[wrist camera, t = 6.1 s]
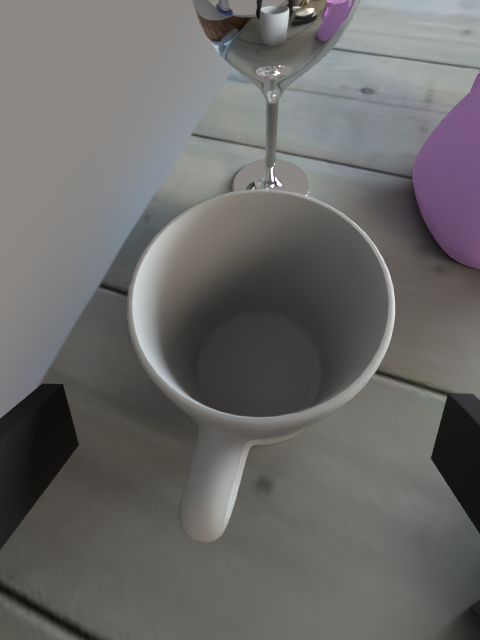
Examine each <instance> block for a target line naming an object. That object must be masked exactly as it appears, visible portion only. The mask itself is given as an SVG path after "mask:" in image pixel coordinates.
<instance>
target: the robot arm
mask: <svg viewBox="0 0 480 640" xmlns="http://www.w3.org/2000/svg"><path fill="white" fill-rule="evenodd" d="M78 445H79V443H78V440H77V436H76V432H75V428H74V424H73V421H72V417H71V413H70V409H69V405H68V402H67V398H66V394H65V390H64V386H63V384H41V385H40V386H39V387H38V388H37V389H35V390H34V391H33V392H32V393H31V394H29V395H28V396H27V397H26V398H25V399H24V400H22V401H21V402H20V403H19V404H17V405H16V406H15V407H14V408H13V409H11V410H10V411H9V412H8V413H7V414H5V415H4V416H3V417H2V418H1V419H0V549H1V548H2V547H3V545H4V544H5V543H6V541H7V540H8V539H9V537H10V536H11V535H12V533H13V532H14V531H15V529H16V528H17V527H18V525H19V524H20V523H21V521H22V520H23V519H24V517H25V516H26V515H27V513H28V512H29V511H30V509H31V508H32V507H33V505H34V504H35V503H36V501H37V500H38V499H39V497H40V496H41V495H42V493H43V492H44V491H45V489H46V488H47V487H48V485H49V484H50V483H51V481H52V480H53V479H54V477H55V476H56V475H57V473H58V472H59V471H60V469H61V468H62V467H63V465H64V464H65V463H66V461H67V460H68V459H69V457H70V456H71V455H72V453H73V452H74V451H75V449H76V448H77V447H78ZM431 459H432V461H433V463H434V464H435V466H436V467H437V469H438V470H439V472H440V473H441V475H442V476H443V478H444V479H445V481H446V483H447V484H448V486H449V487H450V489H451V490H452V492H453V493H454V495H455V496H456V498H457V499H458V501H459V503H460V504H461V506H462V507H463V509H464V510H465V512H466V513H467V515H468V516H469V518H470V519H471V521H472V523H473V524H474V526H475V527H476V529H477V530H478V532H479V533H480V400H479V399H478V398H477V397H476V396H475V395H474V394H457V393H448V396H447V400H446V404H445V407H444V411H443V415H442V419H441V422H440V426H439V430H438V434H437V437H436V441H435V445H434V449H433V452H432V456H431Z"/></svg>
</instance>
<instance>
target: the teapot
mask: <svg viewBox="0 0 480 640" xmlns="http://www.w3.org/2000/svg"><path fill="white" fill-rule="evenodd" d="M412 178H413V185H414V191H415V196H416V199H417V203H418V206H419V209H420V212H421V214H422V216H423V219H424V221H425V223H426V225H427V227H428V228H429V230H430V232H431V233H432V235H433V237H434V238H435V240H436V241H437V243H438V244H439V245H440V247H441V248H442V249H443V250H444V251H445V252H446V253H447V254H448V255H449V256H450V257H451V258H453V259H454V260H456V261H457V262H459V263H461V264H464V265H466V266H468V267H472V268H475V269H479V270H480V72H479V74H478V75H477V77H476V79H475V81H474V84H473V86H472V89H471V91H470V93H469V94H468V95H467V96H466V97H465V98H463V99H462V100H461V101H460V102H459V103H458V104H457V105H456V106H455V107H454V108H453V109H452V110H451V111H450V112H449V113H448V114H447V116H446V117H445V118H444V119H443V120H442V121H441V123H440V124H439V125H438V126H437V128H436V129H435V130H434V131H433V133H432V134H431V135H430V137H429V138H428V140H427V141H426V142H425V144H424V145H423V147H422V148H421V150H420V152H419V154H418V155H417V157H416V160H415V162H414V166H413V173H412Z"/></svg>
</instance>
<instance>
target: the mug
mask: <svg viewBox="0 0 480 640" xmlns="http://www.w3.org/2000/svg"><path fill="white" fill-rule="evenodd" d="M394 320H395V297H394V289H393V284H392V281H391V277H390V274H389V271H388V268H387V266H386V264H385V262H384V259H383V257H382V256H381V254H380V252H379V251H378V249H377V247H376V246H375V244H374V243H373V242H372V241H371V239H370V238H369V237H368V236H367V234H366V233H365V232H364V231H363V230H362V229H361V228H360V227H359V226H358V225H357V224H356V223H354V222H353V221H352V220H351V219H349V218H348V217H347V216H345V215H344V214H343V213H341V212H340V211H338V210H336V209H335V208H333V207H331V206H329V205H327V204H325V203H323V202H321V201H319V200H316V199H314V198H311V197H308V196H305V195H302V194H297V193H293V192H288V191H281V190H273V189H253V190H241V191H236V192H230V193H226V194H222V195H219V196H215V197H212V198H210V199H207V200H205V201H202V202H200V203H198V204H196V205H194V206H192V207H190V208H188V209H187V210H185V211H184V212H182V213H181V214H179V215H177V216H176V217H175V218H173V219H172V220H171V221H170V222H169V223H167V224H166V225H165V226H164V227H163V228H162V229H161V230H160V231H159V232H158V233H157V234H156V235H155V236H154V237H153V239H152V240H151V241H150V243H149V244H148V245H147V247H146V248H145V250H144V251H143V253H142V255H141V257H140V258H139V260H138V262H137V264H136V267H135V269H134V272H133V274H132V277H131V281H130V285H129V288H128V296H127V323H128V329H129V335H130V339H131V342H132V345H133V348H134V351H135V354H136V356H137V357H138V359H139V361H140V363H141V365H142V367H143V369H144V370H145V372H146V373H147V374H148V376H149V377H150V378H151V380H152V381H153V383H154V384H155V385H156V386H157V387H158V388H159V389H160V390H161V391H162V392H163V393H164V394H165V395H166V396H167V397H168V398H169V399H170V400H171V401H172V402H174V403H175V404H176V405H177V406H178V407H180V408H181V409H182V410H183V411H184V412H185V413H186V414H187V415H188V416H189V417H191V418H192V419H193V420H194V421H195V422H196V423H197V424H198V426H199V433H198V438H197V442H196V446H195V449H194V452H193V456H192V459H191V463H190V466H189V469H188V473H187V476H186V480H185V483H184V487H183V491H182V496H181V501H180V506H179V520H180V524H181V528H182V529H183V530H184V531H185V533H186V534H187V535H189V536H191V537H192V538H194V539H196V540H199V541H203V542H212V541H215V540H217V539H218V538H219V537H221V536H222V534H223V532H224V530H225V528H226V526H227V524H228V521H229V519H230V516H231V513H232V510H233V507H234V503H235V500H236V496H237V493H238V489H239V485H240V481H241V477H242V473H243V469H244V466H245V462H246V458H247V455H248V452H249V449H250V448H251V446H253V445H270V444H275V443H280V442H283V441H285V440H288V439H290V438H292V437H294V436H296V435H298V434H299V433H301V432H302V431H303V430H305V429H306V428H308V427H309V426H311V425H313V424H314V423H316V422H318V421H319V420H321V419H323V418H324V417H326V416H328V415H329V414H331V413H332V412H334V411H335V410H337V409H338V408H340V407H341V406H342V405H344V404H345V403H347V402H348V401H349V400H350V399H351V398H352V397H354V396H355V395H356V394H357V393H358V392H359V391H360V390H361V389H362V388H363V387H364V386H365V385H366V383H367V382H368V381H369V379H370V378H371V377H372V375H373V374H374V373H375V372H376V370H377V368H378V367H379V365H380V363H381V361H382V359H383V358H384V356H385V354H386V351H387V348H388V346H389V343H390V340H391V337H392V331H393V326H394Z"/></svg>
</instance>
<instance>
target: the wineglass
mask: <svg viewBox="0 0 480 640" xmlns="http://www.w3.org/2000/svg"><path fill="white" fill-rule="evenodd" d="M192 1H193V5H194V9H195V12H196V15H197V18H198V20H199V23H200V25H201V27H202V29H203V31H204V33H205V35H206V36H207V38H208V40H209V41H210V43H211V44H212V45H213V47H214V48H215V50H216V51H217V52H218V53H219V54H220V56H221V57H222V58H223V59H224V60H225V61H226V62H227V63H228V64H229V65H231V66H232V67H233V68H234V69H235V70H237V71H238V72H239V73H241V74H242V75H243V76H245V77H246V78H247V79H249V80H250V81H251V82H253V83H254V84H255V85H256V86H257V87H258V88H259V89H260V90H261V92H262V93H263V95H264V97H265V99H266V153H265V159H264V160H259V161H256V162H253V163H251V164H249V165H247V166H245V167H244V168H242V169H241V170H240V171H239V172H238V173H237V175H236V176H235V178H234V180H233V184H232V192H236V191H241V190H253V189H273V190H281V191H288V192H293V193H297V194H302V195H305V196H307V195H308V191H309V183H308V179H307V177H306V175H305V174H304V172H303V171H302V170H301V169H300V168H299V167H297V166H296V165H294V164H292V163H290V162H287V161H284V160H279V159H276V143H277V124H278V107H279V99H280V97H281V95H282V94H283V92H284V91H285V89H286V88H287V87H288V86H289V85H290V84H291V83H292V82H294V81H295V80H296V79H297V78H299V77H300V76H301V75H303V74H304V73H305V72H307V71H308V70H309V69H311V68H312V67H313V66H314V65H316V64H317V63H318V62H319V61H320V60H321V59H322V58H323V57H325V56H326V54H327V53H328V52H329V51H330V50H331V49H332V48H333V47H334V46H335V44H336V43H337V42H338V41H339V39H340V38H341V37H342V35H343V34H344V32H345V31H346V29H347V28H348V26H349V24H350V22H351V21H352V19H353V17H354V15H355V13H356V11H357V8H358V6H359V4H360V1H361V0H192Z"/></svg>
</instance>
